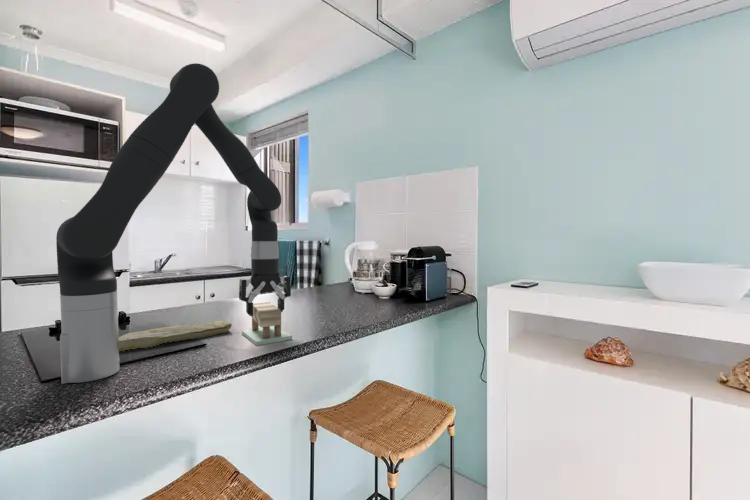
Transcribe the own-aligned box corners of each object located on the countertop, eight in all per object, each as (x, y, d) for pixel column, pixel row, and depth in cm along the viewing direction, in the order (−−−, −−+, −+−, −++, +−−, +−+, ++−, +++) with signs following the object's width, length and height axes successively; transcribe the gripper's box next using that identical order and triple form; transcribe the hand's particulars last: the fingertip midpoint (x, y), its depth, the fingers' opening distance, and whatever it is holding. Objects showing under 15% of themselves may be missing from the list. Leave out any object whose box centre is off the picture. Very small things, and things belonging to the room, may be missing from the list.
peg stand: (292, 339, 101) (292, 323, 101) (256, 345, 95) (255, 328, 95) (274, 328, 112) (274, 314, 112) (241, 333, 107) (241, 318, 106)
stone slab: (105, 333, 97) (220, 313, 117) (107, 349, 97) (221, 326, 117) (111, 343, 88) (235, 319, 108) (112, 360, 88) (235, 333, 108)
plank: (281, 324, 99) (281, 310, 99) (260, 327, 96) (260, 312, 96) (270, 315, 111) (269, 302, 111) (251, 317, 108) (251, 303, 108)
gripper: (243, 258, 96) (244, 319, 96) (294, 256, 104) (294, 312, 104) (235, 257, 102) (236, 314, 102) (284, 255, 110) (285, 308, 111)
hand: (265, 313), depth 103 cm, fingers open, 8 cm apart
